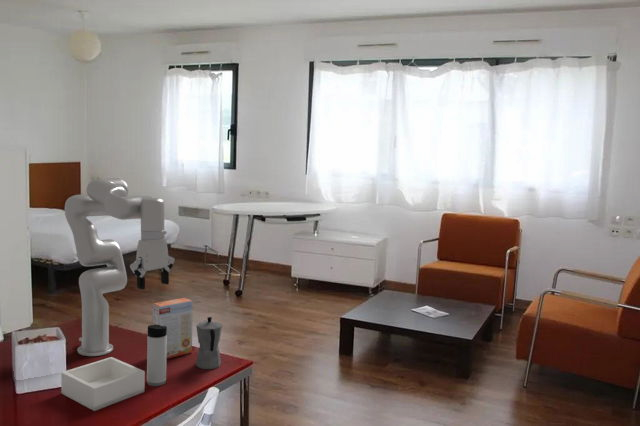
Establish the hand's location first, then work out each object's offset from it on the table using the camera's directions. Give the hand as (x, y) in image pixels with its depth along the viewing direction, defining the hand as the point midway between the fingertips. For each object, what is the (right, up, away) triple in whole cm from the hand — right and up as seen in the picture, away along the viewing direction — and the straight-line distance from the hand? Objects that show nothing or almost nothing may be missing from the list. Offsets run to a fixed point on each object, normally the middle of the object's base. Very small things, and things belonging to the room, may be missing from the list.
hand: (153, 286), depth 193 cm
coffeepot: (+15, -32, +18) cm, 40 cm away
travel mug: (0, -33, +2) cm, 33 cm away
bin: (-14, -33, -8) cm, 37 cm away
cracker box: (-1, -30, +27) cm, 40 cm away
